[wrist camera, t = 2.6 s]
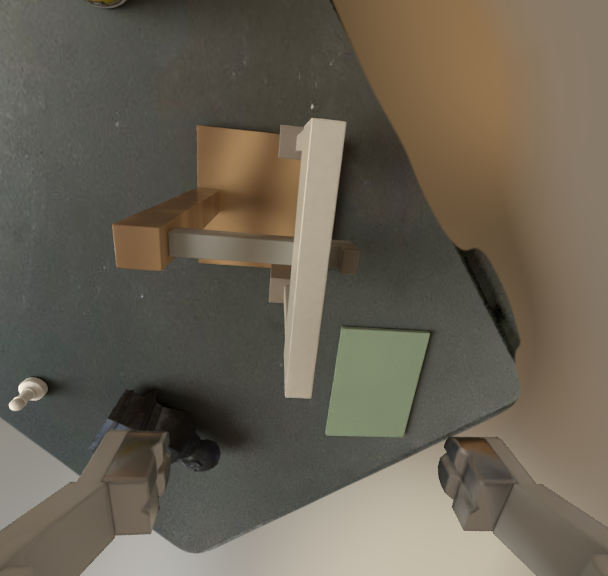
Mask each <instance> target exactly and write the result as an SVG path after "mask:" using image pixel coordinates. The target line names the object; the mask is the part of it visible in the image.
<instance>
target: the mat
mask: <svg viewBox="0 0 608 576" xmlns="http://www.w3.org/2000/svg"><path fill="white" fill-rule="evenodd" d="M429 337H430V332H429V331H418V330H400V329H382V328H364V327H346V326H342V327H341V333H340V340H339V346H338V353H337V359H336V366H335V372H334V379H333V385H332V392H331V398H330V405H329V411H328V418H327V424H326V431H325V433H326V435H329V436H373V437H403V436H404V433H405V429H406V425H407V421H408V417H409V413H410V410H411V406H412V402H413V398H414V394H415V390H416V387H417V383H418V379H419V375H420V371H421V367H422V363H423V360H424V356H425V352H426V348H427V344H428V340H429Z"/></svg>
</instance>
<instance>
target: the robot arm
mask: <svg viewBox="0 0 608 576" xmlns="http://www.w3.org/2000/svg"><path fill="white" fill-rule="evenodd" d="M169 443H170V437H169V432H167V431H145V430H114V429H111V430H110V431H109V432H108V433H107V434H106V435H105V436H104V438H103V440H102V441H101V443H100V445H99V446H98V448H97V450H96V451H95V453H94V454H93V456H92V458H91V459H90V461H89V463H88V464H87V466H86V468H85V469H84V471H83V472H82V474H81V476H80V477H79V479H78V481H77V482H70V483H69V484H67V485H66V486H64V487H63V488H61V489H60V490H58V491H57V492H55V493H54V494H53V495H51V496H50V497H48V498H47V499H45V500H44V501H43V502H41V503H40V504H38V505H37V506H35V507H34V508H33V509H31V510H30V511H28V512H27V513H25V514H24V515H22V516H21V517H20V518H18V519H17V520H15V521H14V522H12V523H11V524H9V525H8V526H7V527H5V528H4V529H2V530H1V531H0V576H79V575H80V574H81V573H82V572H83V571H84V570H85V569H86V568H87V567H88V566H89V565H90V564H91V563H92V562H93V561H94V559H95V558H96V557H97V556H98V555H99V554H100V553H101V552H102V551H103V550H104V549H105V548H106V547H107V546H108V544H109V543H110V542H111V541H112V540H113V539H114V538H115V535H137V534H151V532H152V529H153V526H154V523H155V520H156V517H157V514H158V511H159V497H160V496H161V495H162V494H163V493H164V492H165V490H166V487H167V483H168V479H169V474H170V467H171V454H170V453H169V452H168V451H167V449H168V446H169ZM444 448H445V450H446V451H447V453H446V454H444V455H443V456H442V457H441V458H440V461H439V465H438V475H439V480H440V483H441V485H442V488H443V490H444V492H445V493H446V494H447V495H449V496H450V497H451V498H452V499H453V505H452V508H453V510H454V512H455V514H456V516H457V518H458V520H459V522H460V524H461V526H462V528H463V530H464V531H493V534H495V536H497V537H498V538H499V539H500V540H501V541H502V542H503V543H504V544H505V545H506V546H507V547H508V548H509V549H510V550H511V551H512V552H513V553H514V554H515V555H516V556H517V557H518V558H519V559H520V560H521V561H522V562H523V563H524V564H525V565H526V566H527V567H528V568H529V569H530V570H531V571H532V572H533V573H534V574H535V575H536V576H608V527H606V526H605V525H603V524H602V523H600V522H599V521H597V520H595V519H594V518H593V517H591V516H590V515H588V514H587V513H585V512H583V511H582V510H580V509H579V508H577V507H576V506H574V505H573V504H571V503H570V502H568V501H567V500H565V499H564V498H562V497H561V496H559V495H558V494H556V493H555V492H553V491H551V490H550V489H548V488H547V487H545V486H544V485H542V484H536V482H535V481H534V480H533V479H532V478H531V476H530V475H529V474H528V472H527V471H526V470H525V468H524V467H523V466H522V465H521V463H520V462H519V461H518V460H517V458H516V457H515V456H514V455H513V453H512V452H511V451H510V450H509V448H508V447H507V446H506V445H505V443H504V442H503V441H502V440H501V439H499V438H498V437H449V438H448V439H447V440H446V442H445V445H444Z"/></svg>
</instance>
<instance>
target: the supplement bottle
mask: <svg viewBox="0 0 608 576" xmlns="http://www.w3.org/2000/svg"><path fill="white" fill-rule="evenodd" d="M84 1H86V2H87V3H89V4H91V5H93V6H96V7H100V8H114V7H117V6H119V5H121V4H123V3H124V2H125V1H126V0H84Z"/></svg>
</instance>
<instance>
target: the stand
mask: <svg viewBox="0 0 608 576" xmlns="http://www.w3.org/2000/svg"><path fill="white" fill-rule="evenodd" d="M279 139H280V134H274V133H265V132H256V131H247V130H238V129H229V128H220V127H211V126H202V125H197V173H198V188H195V189H193V190H191V191H188V192H186V193H184V194H181V195H179V196H177V197H174V198H172V199H170V200H167V201H165V202H163V203H160V204H158V205H156V206H153V207H151V208H149V209H147V210H144V211H142V212H140V213H137V214H135V215H133V216H130V217H128V218H126V219H123V220H121V221H119V222H116V223H114V224H112V229H113V238H114V248H115V257H116V267H117V268H127V269H141V270H156V271H162V270H163V269H164V268H165V267H166V266H167V265H168V264H169V263H170V262H171V261H172V260H173V259H174V258H175V257H185V258H199V263H209V264H223V265H237V266H251V267H265V268H271V264H282V265H292V257H293V245H294V234H295V223H296V211H297V200H298V189H299V177H300V166H301V160H294V159H285V158H279V157H278V154H279ZM359 253H360V252H359V250H358V249H357V248H356V246H355V245H354V244H353V243H352V242H351V241H342V240H332V241H331V249H330V256H329V264H328V268H338V269H339V271H340V273H341V274H356V272H357V266H358V259H359Z"/></svg>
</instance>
